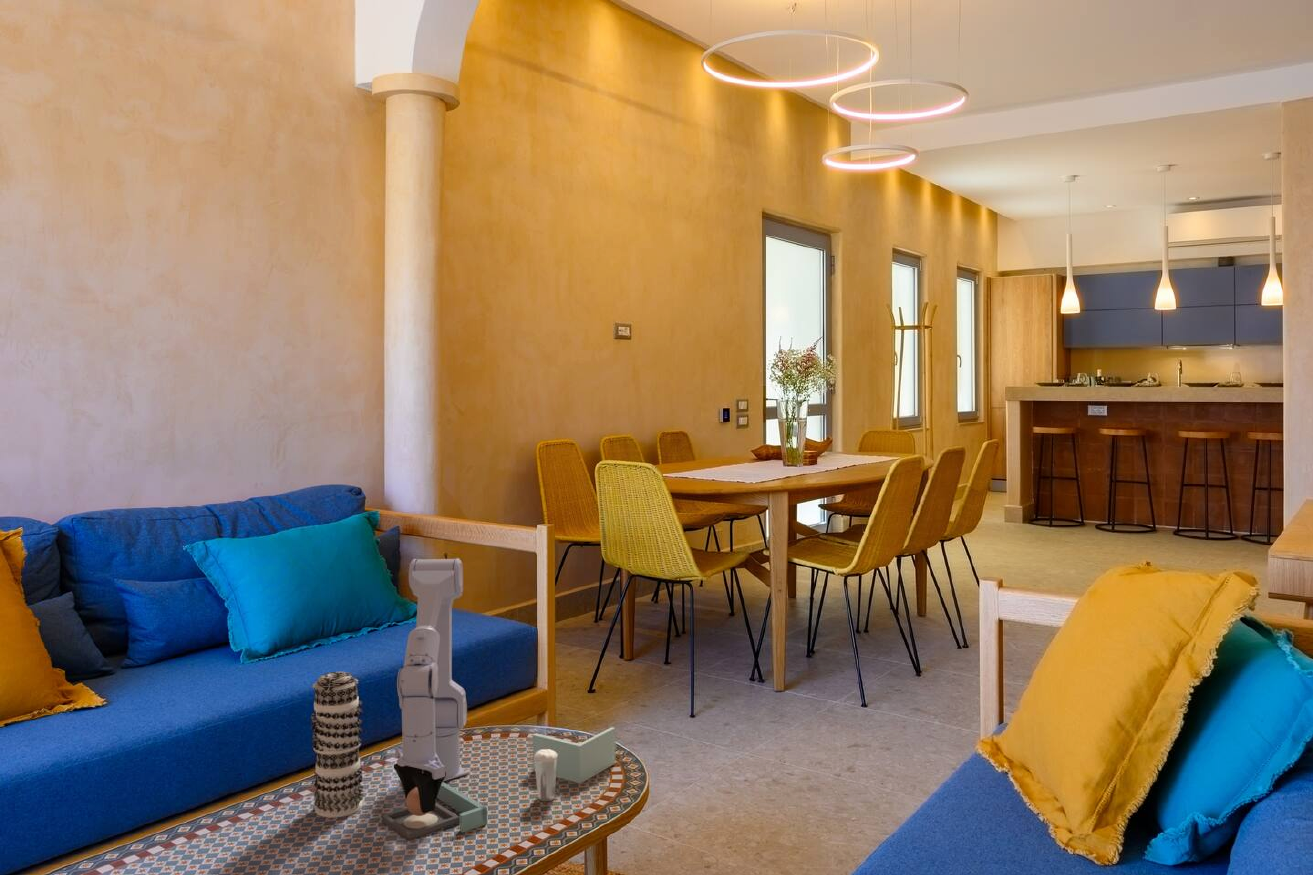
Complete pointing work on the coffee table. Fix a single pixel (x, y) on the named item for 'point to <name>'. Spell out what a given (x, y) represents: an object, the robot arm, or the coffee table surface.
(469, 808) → the divider wall
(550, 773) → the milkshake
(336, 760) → the white patterned cylinder
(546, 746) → the right angle wall
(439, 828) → the tray
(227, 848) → the coffee table surface
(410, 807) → the ball
